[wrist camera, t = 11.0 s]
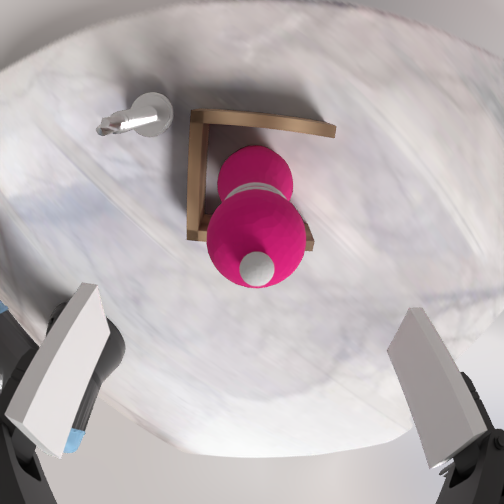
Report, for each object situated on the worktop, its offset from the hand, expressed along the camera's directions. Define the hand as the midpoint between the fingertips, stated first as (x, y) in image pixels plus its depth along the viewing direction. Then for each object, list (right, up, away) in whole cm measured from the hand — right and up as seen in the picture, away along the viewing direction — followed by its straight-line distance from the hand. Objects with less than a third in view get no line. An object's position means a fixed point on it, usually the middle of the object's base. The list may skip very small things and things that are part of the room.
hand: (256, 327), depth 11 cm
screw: (-10, +18, +17) cm, 27 cm away
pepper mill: (0, +12, +20) cm, 23 cm away
